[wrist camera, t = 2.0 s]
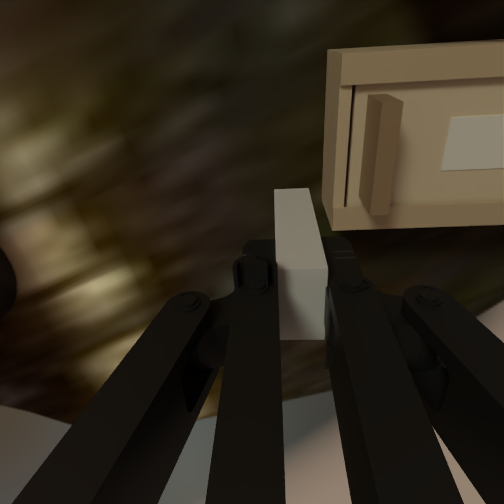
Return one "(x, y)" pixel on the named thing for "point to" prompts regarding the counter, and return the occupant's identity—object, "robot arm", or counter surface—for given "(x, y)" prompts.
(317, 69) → the counter surface
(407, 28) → the counter surface
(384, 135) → the lid
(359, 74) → the box
